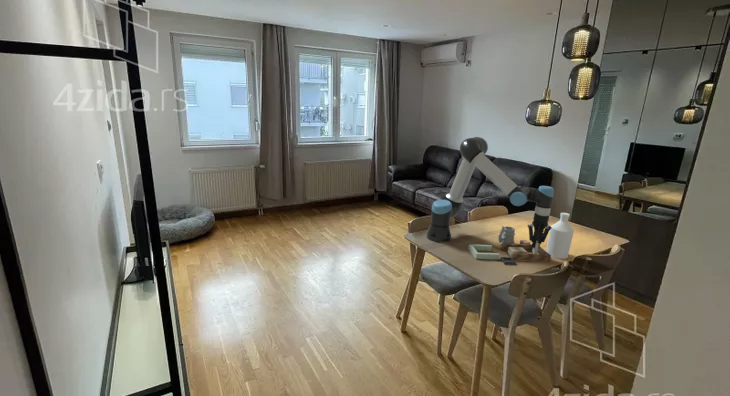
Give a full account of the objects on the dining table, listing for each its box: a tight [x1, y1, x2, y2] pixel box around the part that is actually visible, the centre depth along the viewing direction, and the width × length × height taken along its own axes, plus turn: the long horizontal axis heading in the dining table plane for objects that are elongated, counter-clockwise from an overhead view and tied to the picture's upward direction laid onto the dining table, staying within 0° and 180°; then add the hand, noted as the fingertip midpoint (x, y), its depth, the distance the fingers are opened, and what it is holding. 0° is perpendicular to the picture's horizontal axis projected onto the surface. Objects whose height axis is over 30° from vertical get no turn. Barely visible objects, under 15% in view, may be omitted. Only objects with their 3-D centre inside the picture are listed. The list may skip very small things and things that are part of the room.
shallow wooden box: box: [500, 243, 552, 262], centre depth 199 cm, size 22×15×4 cm
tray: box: [499, 256, 517, 265], centre depth 189 cm, size 6×6×1 cm
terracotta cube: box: [519, 239, 531, 244], centre depth 210 cm, size 4×4×4 cm
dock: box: [467, 243, 501, 260], centre depth 198 cm, size 13×13×3 cm
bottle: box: [545, 212, 575, 260], centre depth 199 cm, size 12×12×25 cm
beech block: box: [507, 247, 528, 257], centre depth 198 cm, size 8×6×4 cm
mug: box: [497, 225, 516, 244], centre depth 213 cm, size 8×12×12 cm, turn 117°
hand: (534, 253), depth 198 cm, fingers closed
